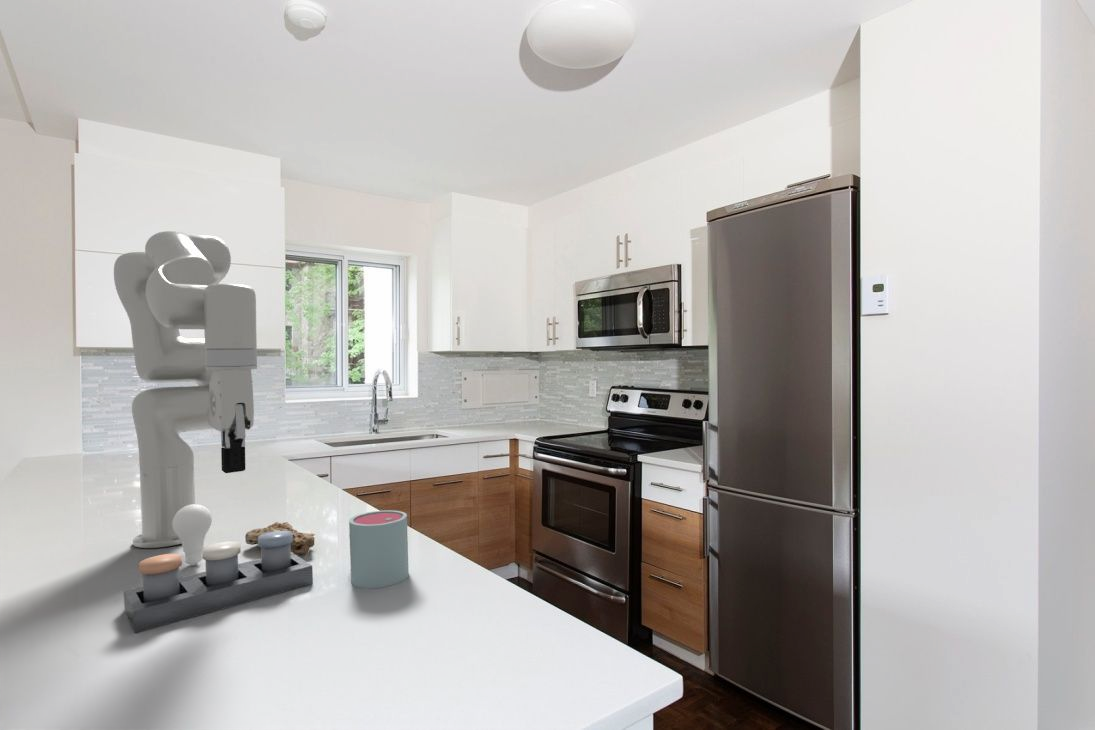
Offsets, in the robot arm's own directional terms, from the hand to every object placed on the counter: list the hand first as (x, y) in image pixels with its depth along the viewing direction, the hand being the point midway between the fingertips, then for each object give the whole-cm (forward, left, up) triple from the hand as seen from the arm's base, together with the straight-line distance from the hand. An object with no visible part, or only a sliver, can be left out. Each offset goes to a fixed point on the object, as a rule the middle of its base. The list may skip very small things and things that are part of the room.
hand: (233, 471), depth 97 cm
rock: (-13, +13, -19) cm, 26 cm away
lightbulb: (-15, -3, -19) cm, 24 cm away
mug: (+13, +18, -19) cm, 29 cm away
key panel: (+5, -3, -19) cm, 19 cm away
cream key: (+5, -3, -17) cm, 18 cm away
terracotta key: (+5, -11, -17) cm, 21 cm away
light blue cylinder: (+5, +5, -17) cm, 18 cm away
